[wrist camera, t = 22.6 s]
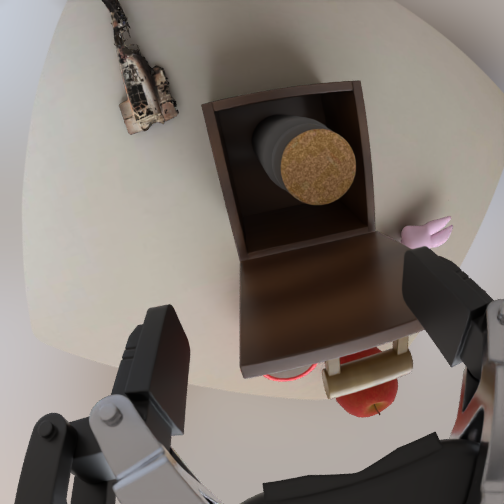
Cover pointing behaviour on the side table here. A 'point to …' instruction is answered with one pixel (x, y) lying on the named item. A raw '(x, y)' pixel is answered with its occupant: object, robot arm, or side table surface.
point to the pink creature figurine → (426, 234)
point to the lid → (328, 312)
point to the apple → (368, 392)
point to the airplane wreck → (140, 82)
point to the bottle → (304, 158)
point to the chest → (271, 195)
